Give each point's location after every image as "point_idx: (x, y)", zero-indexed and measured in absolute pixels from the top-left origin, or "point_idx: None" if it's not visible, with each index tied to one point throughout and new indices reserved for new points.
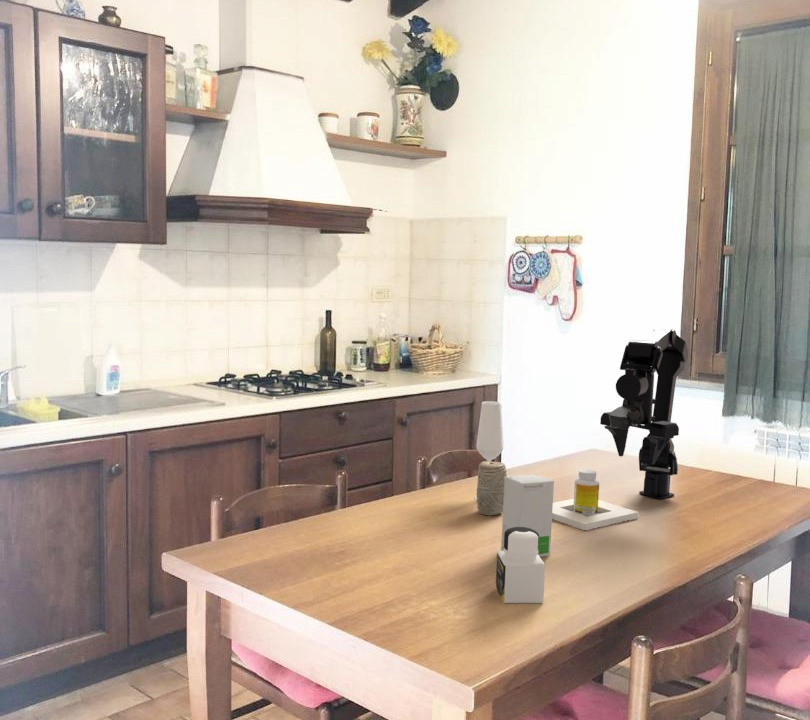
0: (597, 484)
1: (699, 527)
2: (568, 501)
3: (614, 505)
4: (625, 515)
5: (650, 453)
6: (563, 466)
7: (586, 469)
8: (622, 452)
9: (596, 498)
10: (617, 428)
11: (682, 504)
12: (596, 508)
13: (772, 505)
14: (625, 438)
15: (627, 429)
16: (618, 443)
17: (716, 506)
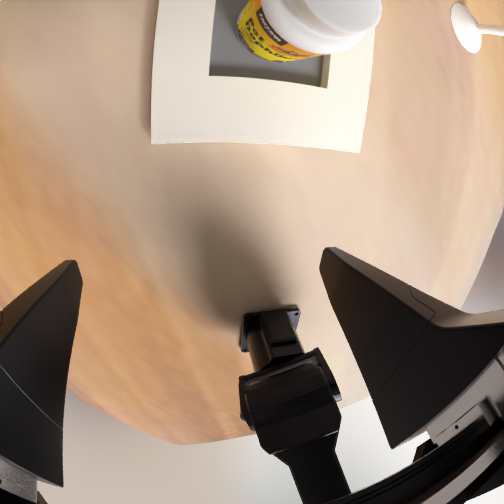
0: (262, 4)
1: (37, 230)
2: (359, 63)
3: (247, 136)
4: (152, 81)
5: (39, 297)
6: (447, 303)
7: (370, 23)
8: (329, 277)
9: (247, 17)
10: (467, 377)
11: (191, 328)
12: (239, 28)
13: (128, 405)
14: (368, 367)
15: (389, 427)
16: (381, 288)
17: (151, 360)
